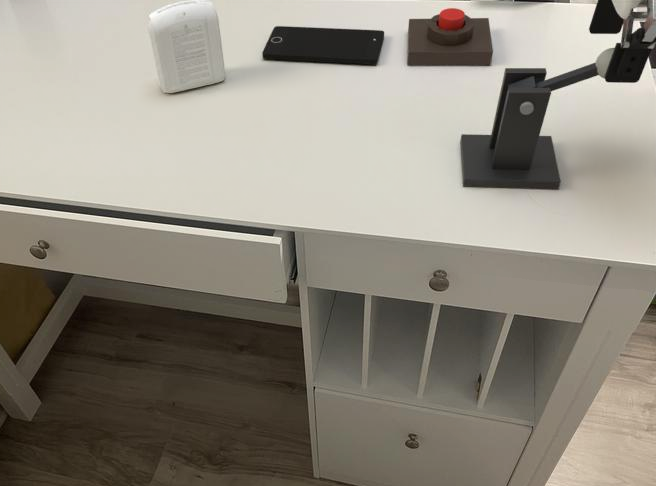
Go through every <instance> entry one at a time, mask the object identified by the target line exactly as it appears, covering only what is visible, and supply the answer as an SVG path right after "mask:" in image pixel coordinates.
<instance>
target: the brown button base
mask: <svg viewBox="0 0 656 486" xmlns="http://www.w3.org/2000/svg"><path fill="white" fill-rule="evenodd" d="M439 15H440V13H438V14H435V15H434V16H432V17H431V18H408V26H407V54H406V55H407V56H406V58H407V59H406V64H407V66H491V65H492V60H493V54H494V49H493V40H492V33H491V27H490V26H491V25H490V19H489V17H470V16H468V15H467V14H465V17H464V23H463V27H462V28H461V29H458V30H445V29H441V28H440V27H439V26H438V23H439Z"/></svg>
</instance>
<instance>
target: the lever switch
mask: <svg viewBox="0 0 656 486" xmlns="http://www.w3.org/2000/svg"><path fill="white" fill-rule="evenodd" d="M614 48H615V47H610V48H606V49H605V50H603V51H602V52H600V54H599V55H598V56H597V58H596V60H595V61H594V62H592V63H590V64H588V65H584V66H581V67H578V68H575V69H573V70H570V71H567V72H564V73H561V74H559V75H556V76H553V77H550V78H548V79H545V80H544V81H542V82H539V83H536V82H535V79H534V76H532V77H529V78H526V79H524V80H521V81H518V82H515V83H512V84H510V85H508V88H550V90H551V92H554V91H556V90H559V89H562V88H565V87H568V86H571V85H574V84H577V83H580V82H583V81H585V80H588V79H591V78H594V77H598V76H599V77H600V78H602V79H604V80H605V74H606V71H607V68H608V65H609V63H610V60H611V57H612V54H613V51H614Z"/></svg>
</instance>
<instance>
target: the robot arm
mask: <svg viewBox="0 0 656 486" xmlns="http://www.w3.org/2000/svg"><path fill="white" fill-rule="evenodd" d="M636 8H646V11H634V10H635V9H636ZM635 22H644V23H643V27H638V28H637V29H636V30H635V31H633V30H634V23H635ZM588 31H589V33H590V34H592V35H618V34H619V33H621V37H620V39H621V40H620V42H616V43H615V46H614V47H613V48H614V51H613V54H612V57H611V60H610V63H609V65H608V68H607V71H606V74H605V79H604V80H605V82H606V83H619V84H622V83H625V84H628V83H629V84H636V83H638V82H639V81H640V79H641V77H642V74H643V72H644V69H645V67H646V64H647V63H648V59H649V57H650V54H651V52H652V50H653V49H654V48H655V46H656V0H597V2H596V5H595V8H594V12H593V15H592V17H591V20H590V24H589V27H588Z"/></svg>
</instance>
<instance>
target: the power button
mask: <svg viewBox="0 0 656 486" xmlns="http://www.w3.org/2000/svg"><path fill="white" fill-rule="evenodd" d="M465 13H466V12H465V11H463V9H459V8H457V7H450V8H445V9H443V10H440V12H439V14H440V15H439V23H438V26H439V27H440V28H441V29H445V30H458V29H461V28H462V27H463V23H464V17H465V15H466V14H465Z"/></svg>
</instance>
